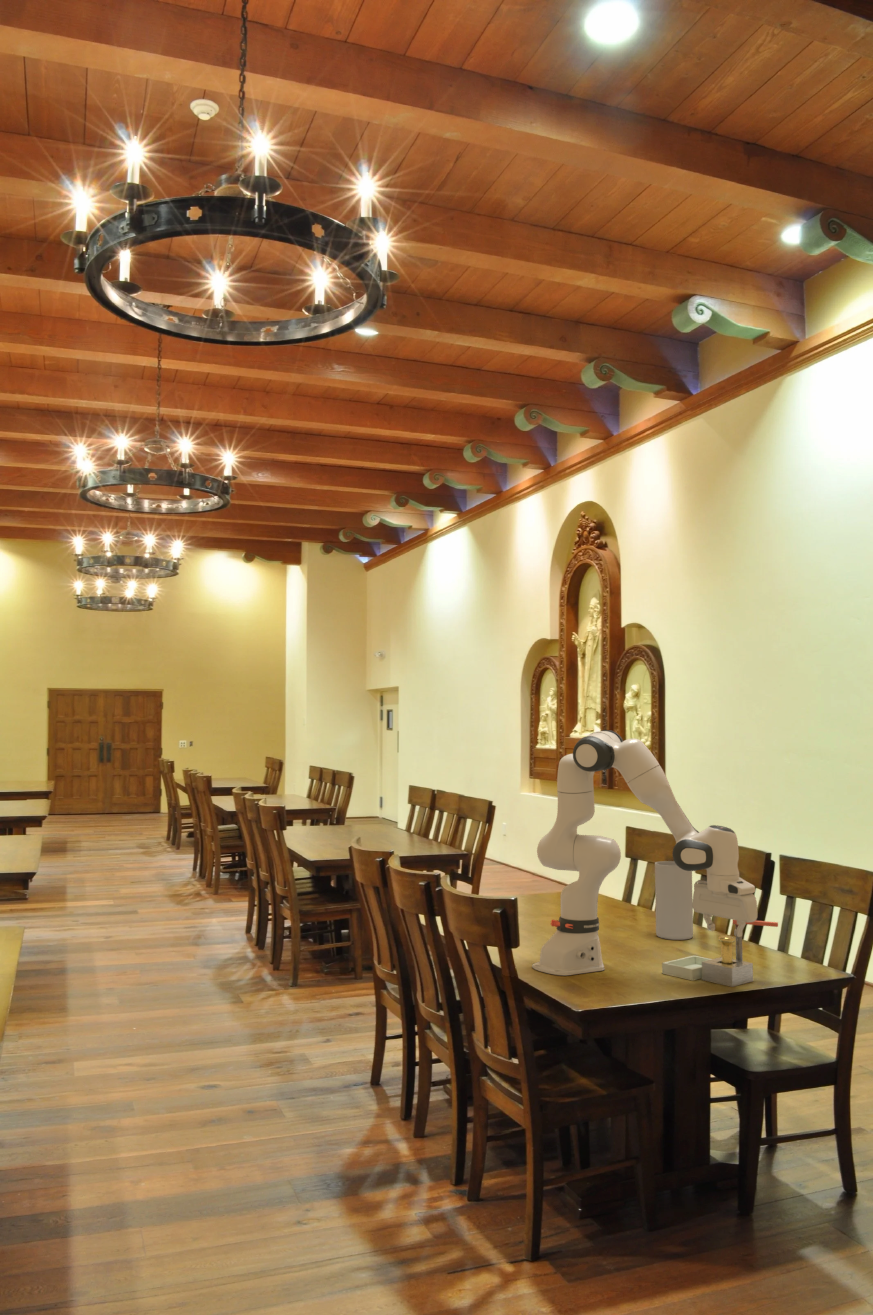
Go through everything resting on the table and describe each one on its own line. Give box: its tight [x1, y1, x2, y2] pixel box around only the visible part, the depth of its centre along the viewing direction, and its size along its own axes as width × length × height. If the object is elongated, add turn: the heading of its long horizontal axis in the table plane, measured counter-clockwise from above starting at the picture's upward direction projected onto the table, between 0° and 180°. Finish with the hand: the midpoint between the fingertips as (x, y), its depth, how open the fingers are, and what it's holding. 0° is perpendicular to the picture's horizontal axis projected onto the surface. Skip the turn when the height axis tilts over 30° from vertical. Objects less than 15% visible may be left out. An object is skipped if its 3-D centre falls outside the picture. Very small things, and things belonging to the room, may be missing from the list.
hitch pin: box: [718, 935, 736, 965], centre depth 276 cm, size 4×4×12 cm
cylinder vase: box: [654, 860, 694, 941], centre depth 336 cm, size 12×12×25 cm
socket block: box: [701, 924, 754, 988], centre depth 276 cm, size 12×10×15 cm
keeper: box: [732, 919, 779, 928], centre depth 278 cm, size 12×3×1 cm, turn 63°
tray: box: [661, 955, 712, 981], centre depth 284 cm, size 16×11×3 cm
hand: (724, 933), depth 274 cm, fingers open, 8 cm apart
